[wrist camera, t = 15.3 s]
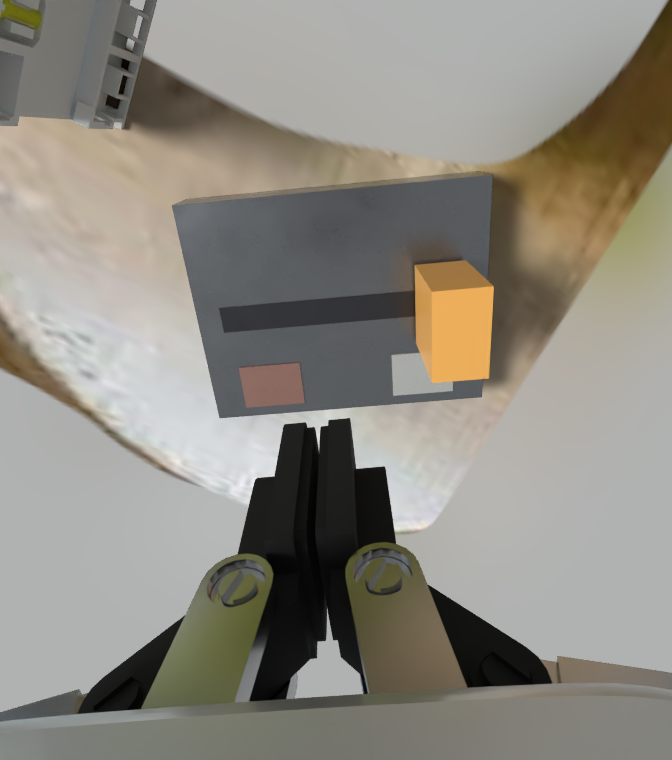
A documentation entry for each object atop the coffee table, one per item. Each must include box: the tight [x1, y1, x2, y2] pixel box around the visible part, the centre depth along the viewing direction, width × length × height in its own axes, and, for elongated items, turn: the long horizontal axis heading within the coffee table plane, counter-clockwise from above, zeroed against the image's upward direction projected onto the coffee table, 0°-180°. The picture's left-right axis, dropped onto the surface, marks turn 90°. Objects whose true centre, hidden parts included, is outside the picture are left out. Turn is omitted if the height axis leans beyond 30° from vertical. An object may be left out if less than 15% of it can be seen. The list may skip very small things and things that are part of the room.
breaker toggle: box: [415, 260, 494, 383], centre depth 28 cm, size 3×5×6 cm, turn 5°
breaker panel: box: [172, 171, 493, 418], centre depth 32 cm, size 18×14×3 cm
